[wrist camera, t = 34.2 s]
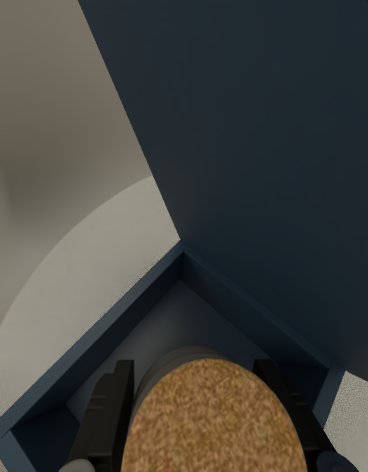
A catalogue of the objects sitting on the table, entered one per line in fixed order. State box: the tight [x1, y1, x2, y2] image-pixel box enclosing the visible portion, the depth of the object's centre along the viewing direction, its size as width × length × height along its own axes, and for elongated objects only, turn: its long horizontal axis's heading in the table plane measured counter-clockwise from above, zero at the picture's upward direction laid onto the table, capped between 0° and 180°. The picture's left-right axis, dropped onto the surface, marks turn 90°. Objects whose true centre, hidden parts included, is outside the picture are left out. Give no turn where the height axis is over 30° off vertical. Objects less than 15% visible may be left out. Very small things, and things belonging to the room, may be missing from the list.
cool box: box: [0, 240, 345, 472], centre depth 18 cm, size 18×16×9 cm
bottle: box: [121, 345, 308, 472], centre depth 12 cm, size 6×6×15 cm
